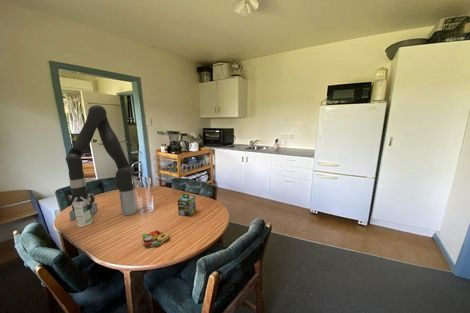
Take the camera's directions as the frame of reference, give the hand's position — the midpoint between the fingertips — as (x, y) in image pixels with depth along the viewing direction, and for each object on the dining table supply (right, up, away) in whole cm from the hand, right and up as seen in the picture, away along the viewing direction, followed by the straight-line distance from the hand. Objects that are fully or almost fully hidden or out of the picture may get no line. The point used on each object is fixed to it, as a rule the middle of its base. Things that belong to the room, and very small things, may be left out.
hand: (82, 210), depth 122 cm
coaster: (0, -9, +2) cm, 9 cm away
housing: (-8, -7, +12) cm, 16 cm away
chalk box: (+63, -6, +14) cm, 65 cm away
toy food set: (+52, -13, -16) cm, 56 cm away
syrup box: (0, -8, +2) cm, 8 cm away
